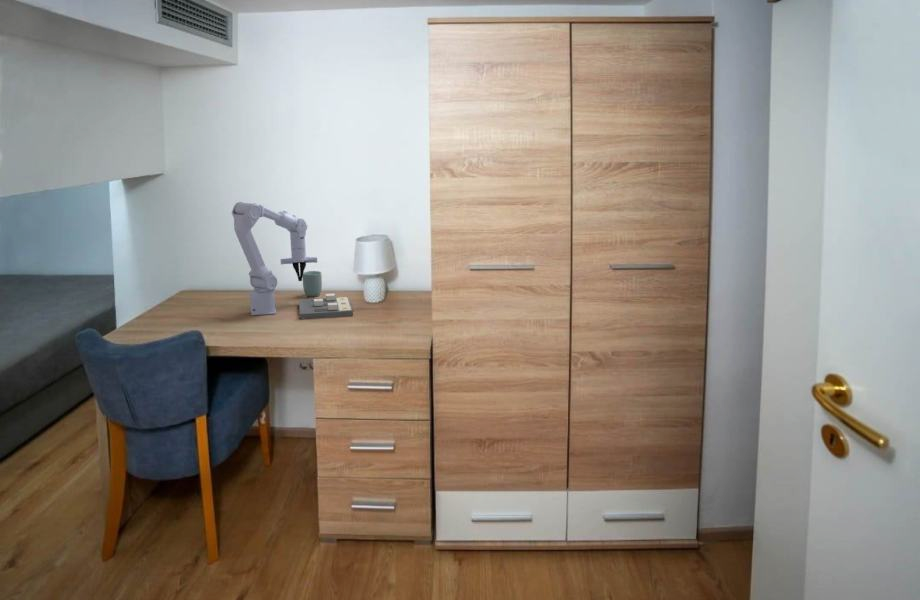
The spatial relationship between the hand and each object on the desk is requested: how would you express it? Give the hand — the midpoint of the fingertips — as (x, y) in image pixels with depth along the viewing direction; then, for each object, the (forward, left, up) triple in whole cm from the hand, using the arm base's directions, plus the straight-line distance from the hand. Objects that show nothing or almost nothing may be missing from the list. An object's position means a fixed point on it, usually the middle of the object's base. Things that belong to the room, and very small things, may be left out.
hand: (300, 280), depth 330 cm
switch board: (+9, -14, -9) cm, 19 cm away
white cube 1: (+12, -22, -7) cm, 26 cm away
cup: (+5, +12, -10) cm, 16 cm away
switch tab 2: (+12, -6, -7) cm, 15 cm away
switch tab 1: (+7, -14, -7) cm, 17 cm away
